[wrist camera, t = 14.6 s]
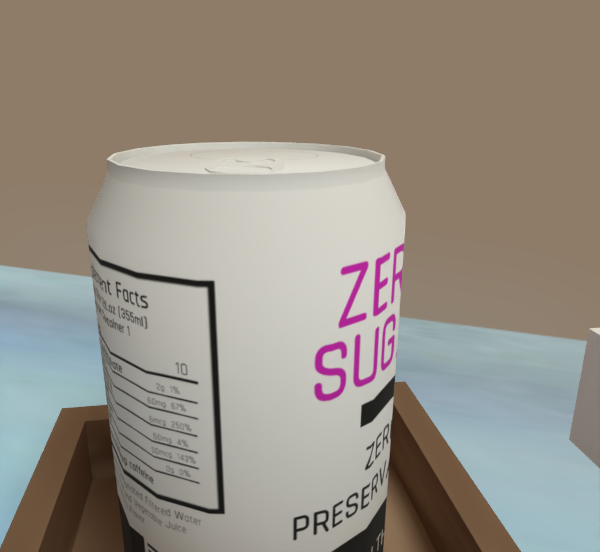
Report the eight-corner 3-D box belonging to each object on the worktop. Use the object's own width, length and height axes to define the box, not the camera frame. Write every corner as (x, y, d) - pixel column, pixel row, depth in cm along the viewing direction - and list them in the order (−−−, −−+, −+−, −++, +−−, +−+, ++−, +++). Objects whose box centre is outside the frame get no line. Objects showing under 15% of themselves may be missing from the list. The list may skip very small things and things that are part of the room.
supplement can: (166, 512, 23) (135, 139, 18) (367, 515, 23) (388, 140, 18) (97, 724, 15) (12, 177, 11) (397, 728, 15) (447, 180, 11)
